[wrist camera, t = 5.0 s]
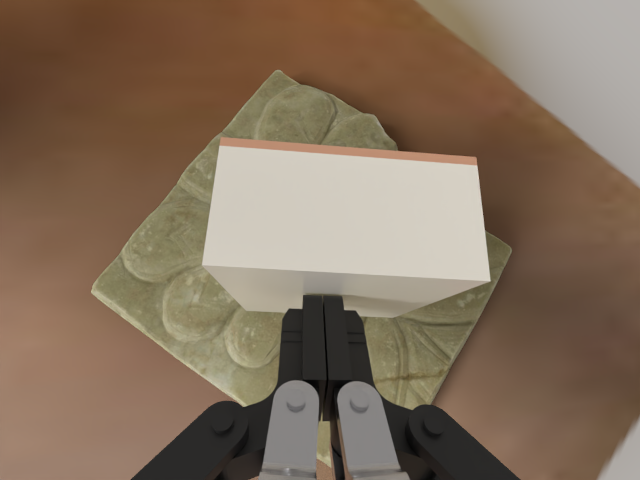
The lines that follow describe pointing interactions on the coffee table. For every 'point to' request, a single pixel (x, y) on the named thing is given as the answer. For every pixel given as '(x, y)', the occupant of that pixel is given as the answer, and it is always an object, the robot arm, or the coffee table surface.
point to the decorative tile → (265, 327)
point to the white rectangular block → (344, 226)
